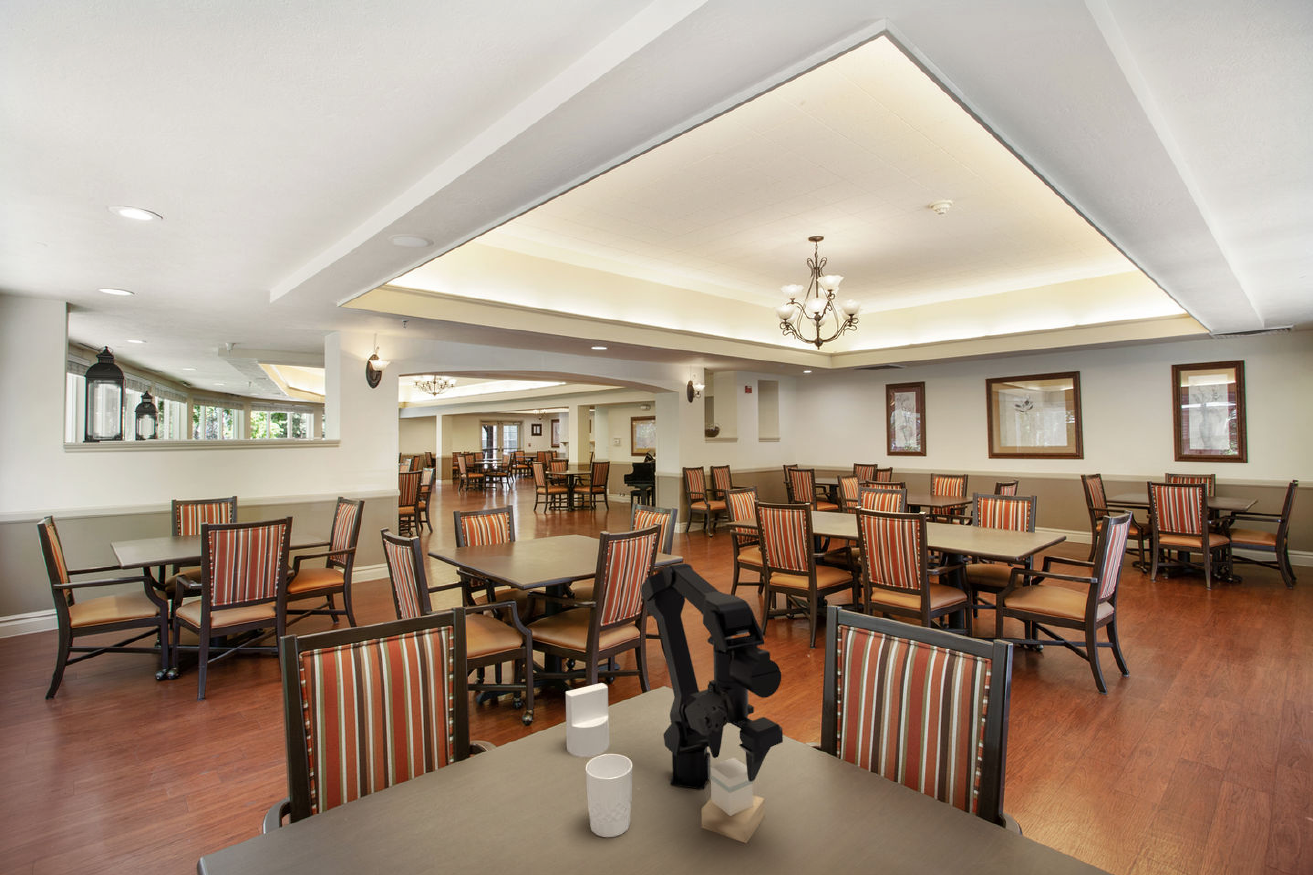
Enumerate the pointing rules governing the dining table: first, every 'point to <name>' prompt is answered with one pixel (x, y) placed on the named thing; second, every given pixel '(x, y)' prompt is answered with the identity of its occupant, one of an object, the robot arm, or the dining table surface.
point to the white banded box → (731, 786)
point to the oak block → (734, 820)
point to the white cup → (609, 794)
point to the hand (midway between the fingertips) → (732, 768)
